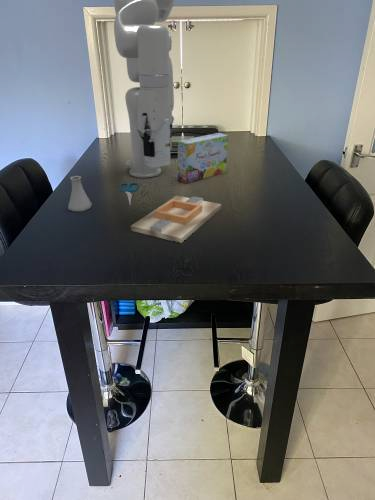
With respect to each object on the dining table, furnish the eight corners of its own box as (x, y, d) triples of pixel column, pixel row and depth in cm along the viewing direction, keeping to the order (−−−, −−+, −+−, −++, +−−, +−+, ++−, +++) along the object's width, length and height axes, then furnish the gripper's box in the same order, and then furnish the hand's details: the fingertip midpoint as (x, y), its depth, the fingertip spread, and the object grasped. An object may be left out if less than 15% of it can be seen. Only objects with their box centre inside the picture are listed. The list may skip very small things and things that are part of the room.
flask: (96, 205, 122) (92, 175, 117) (83, 213, 116) (79, 182, 111) (77, 202, 124) (72, 172, 119) (63, 210, 118) (58, 179, 113)
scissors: (138, 182, 139) (140, 203, 122) (138, 185, 140) (140, 206, 123) (119, 183, 138) (119, 205, 121) (119, 186, 139) (119, 207, 122)
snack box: (187, 184, 139) (186, 143, 132) (177, 180, 143) (176, 140, 135) (226, 172, 151) (228, 134, 144) (216, 169, 155) (218, 131, 148)
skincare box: (151, 168, 102) (149, 121, 96) (144, 164, 105) (141, 118, 99) (171, 164, 105) (170, 119, 99) (163, 160, 108) (162, 116, 102)
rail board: (131, 230, 106) (130, 219, 104) (176, 199, 126) (176, 189, 124) (181, 243, 99) (181, 231, 97) (220, 208, 119) (221, 198, 117)
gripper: (160, 78, 103) (163, 144, 112) (121, 84, 90) (127, 158, 98) (184, 79, 100) (185, 147, 108) (147, 86, 86) (151, 162, 95)
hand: (157, 152), depth 103 cm, fingers closed on skincare box, 7 cm apart
